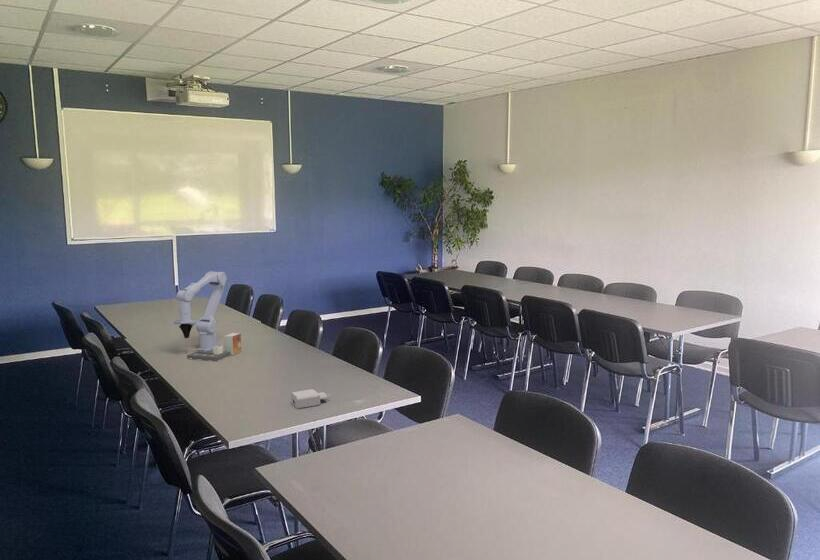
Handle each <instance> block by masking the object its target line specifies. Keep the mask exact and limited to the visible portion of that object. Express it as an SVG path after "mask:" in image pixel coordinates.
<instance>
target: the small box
mask: <svg viewBox="0 0 820 560" xmlns="http://www.w3.org/2000/svg"><path fill="white" fill-rule="evenodd" d="M241 334H242V333H238V332H237V333H236V332H231V333H229V334H226V335H223V351H227V352H230V356H235V355H238V354H240V352H241V353H242V335H241Z"/></svg>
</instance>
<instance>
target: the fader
mask: <svg viewBox="0 0 820 560" xmlns="http://www.w3.org/2000/svg"><path fill="white" fill-rule="evenodd" d="M212 350H213V351H214V354H215V355H219V354H222V353H223V351H224V345H217V346H216V347H214V348H213V349H212Z"/></svg>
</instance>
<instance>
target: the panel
mask: <svg viewBox="0 0 820 560" xmlns="http://www.w3.org/2000/svg"><path fill="white" fill-rule="evenodd" d="M230 356H231V355H230V352H227V351H224V350H223V353H222V354H219V355H215V354H214V350H213V349H212V350H196V351H194V352H192V353H189V354H187V355H186V359H187V358H192V359H191V360H195V359H202V360H201V361H208V360H212V361H211V362H219V361H221V360H223V359H225V357H226V358H228V357H230ZM218 360H219V361H218Z"/></svg>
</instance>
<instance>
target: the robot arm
mask: <svg viewBox="0 0 820 560" xmlns="http://www.w3.org/2000/svg"><path fill="white" fill-rule="evenodd" d="M227 279H228V278H227V275H226V273H225V272H224V271H212V270H211V271H208V272H206V273H205V275H204V276H203V277H202V278H200V280H198V281H197V282H191V283H190V284H189V285H188V286H187V287H184V288H183V290H179V291H178V292H177V293H176V296H175V299H176V300H177V304H178V308H179V309H178V311H179V319H175V320H172V325H179V329H180V330H181V332H182V334H183V335H182V336H183V337H184V339H188V338H190V334H191V331H192V328H193V327H194V326H195V330H196V332H197V333H198V334H199V347H198V348H197V349H196V351H199V350H213V348H214V347H216V346H218V336H217V333H216V329H217V320H216V319H215V317H216V314H217V312H218V311H217V310H218V308H219V304H220V302H221V299H222V296H223V294H224V290H225V285H226V282H227ZM207 284H209V285H210V287H211V288H212V289H213V290H212V293H211V296H210V297H209V301H208V303H207V306H206V309H205V312H204V315H203V316H201V317H200V318H199V319H198V320H194V319H193V320H192V307H191V301H192V300H193V299H194V298H193V297H194V296H196V295H197V294H198V293H200V292H201V289H202V288H203V287H204V286H207Z"/></svg>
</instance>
